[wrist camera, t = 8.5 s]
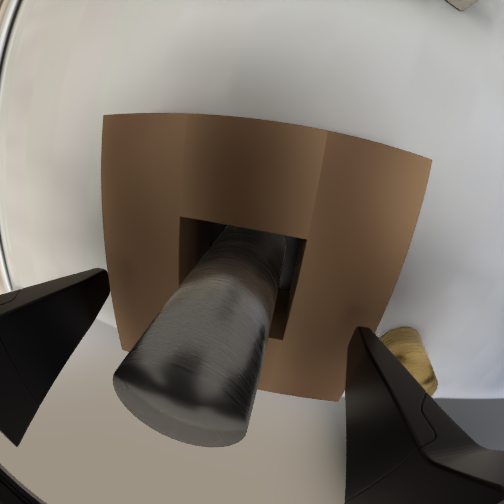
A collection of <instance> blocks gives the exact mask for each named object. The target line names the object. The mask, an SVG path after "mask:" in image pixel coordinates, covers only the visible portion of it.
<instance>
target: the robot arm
mask: <svg viewBox="0 0 504 504" xmlns="http://www.w3.org/2000/svg"><path fill="white" fill-rule="evenodd" d="M109 294H110V283H109V276H108V272H107V271H106V270H104V269H100V268H95V269H91V270H88V271H84V272H80V273H77V274H73V275H69V276H66V277H62V278H58V279H55V280H51V281H48V282H44V283H41V284H37V285H33V286H30V287H27V288H23V289H20V290H17V291H13V292H9V293H5V294H2V295H0V432H1V433H3V435H4V436H5V437H7V438H8V439H9V440H10V441H11V442H12V443H13V444H14V445H15V446H16V447H17V446H18V445H19V444H20V442H21V440H22V438H23V436H24V434H25V432H26V430H27V428H28V427H29V425H30V423H31V421H32V419H33V417H34V415H35V414H36V412H37V410H38V408H39V406H40V404H41V403H42V401H43V399H44V398H45V396H46V394H47V393H48V391H49V389H50V387H51V386H52V384H53V383H54V381H55V379H56V378H57V376H58V374H59V373H60V371H61V370H62V368H63V367H64V365H65V364H66V362H67V360H68V359H69V357H70V356H71V354H72V353H73V351H74V350H75V348H76V347H77V345H78V344H79V343H80V341H81V340H82V338H83V337H84V335H85V334H86V332H87V331H88V329H89V328H90V327H91V325H92V323H93V322H94V320H95V318H96V317H97V315H98V313H99V311H100V310H101V308H102V306H103V305H104V303H105V301H106V299H107V298H108V296H109ZM345 400H346V440H347V441H346V450H347V451H346V452H347V453H346V489H345V504H504V451H501V450H492V449H487V448H484V447H482V446H480V445H479V444H477V443H476V442H475V441H474V440H473V439H471V438H470V437H469V436H468V435H467V434H466V433H465V432H464V431H463V430H462V429H461V428H460V427H459V426H458V425H457V424H456V423H455V422H454V421H453V420H452V419H451V418H450V417H449V416H448V415H447V414H446V413H445V412H444V411H443V410H442V409H441V407H439V405H438V404H437V403H436V402H435V401H434V400H433V398H432V397H431V396H430V395H429V394H428V393H426V390H425V389H424V388H423V387H422V386H421V385H420V384H419V382H418V381H417V380H416V379H415V378H414V377H413V376H412V375H411V373H410V372H409V371H408V370H407V369H406V368H405V367H404V366H403V364H402V363H401V362H400V361H399V360H398V359H397V358H396V357H395V356H394V354H393V353H392V352H391V351H390V350H389V349H388V348H387V347H386V346H385V344H384V343H383V342H382V341H381V340H380V339H379V338H378V337H377V336H376V335H375V334H374V332H373V331H372V330H371V329H370V328H368V327H363V326H358V327H356V329H355V331H354V333H353V335H352V338H351V340H350V342H349V345H348V349H347V366H346V381H345ZM0 504H46V503H45V502H44V501H43V500H41V499H40V498H39V497H37V496H36V495H35V494H34V493H32V492H31V491H30V490H29V489H28V488H26V487H25V486H24V485H23V484H22V483H20V482H19V481H18V480H17V479H16V478H15V477H14V476H13V475H12V474H11V473H9V472H8V471H7V470H6V469H5V468H4V467H3V466H2V465H1V464H0Z"/></svg>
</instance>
